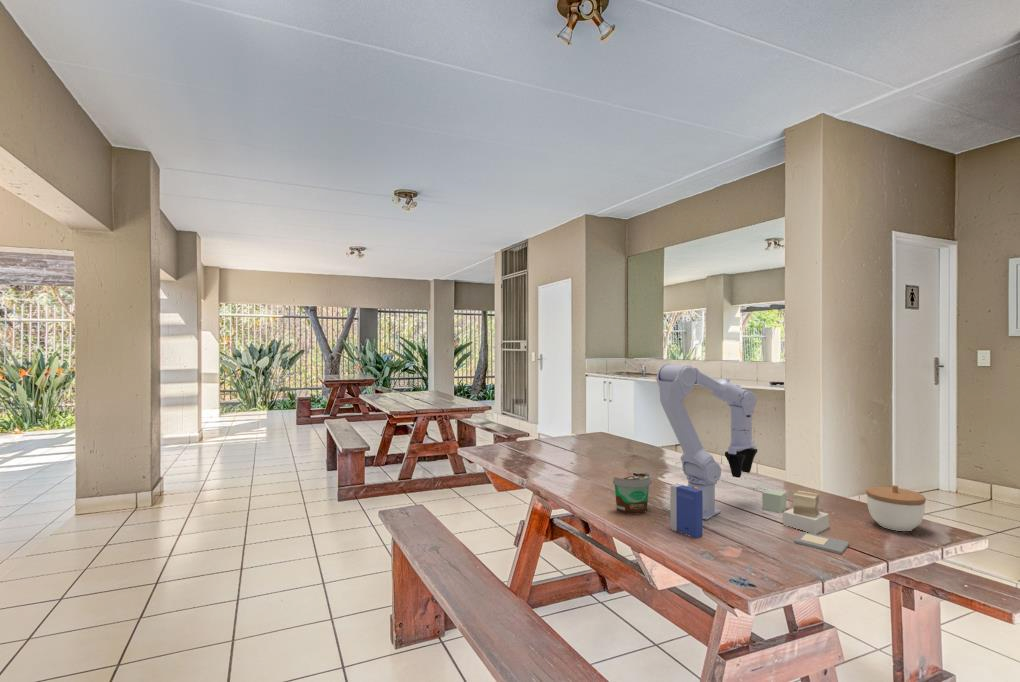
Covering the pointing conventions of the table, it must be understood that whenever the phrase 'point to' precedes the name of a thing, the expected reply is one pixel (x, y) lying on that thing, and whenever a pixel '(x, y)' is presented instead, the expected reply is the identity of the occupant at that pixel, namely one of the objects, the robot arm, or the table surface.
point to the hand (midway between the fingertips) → (741, 474)
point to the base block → (806, 521)
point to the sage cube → (774, 500)
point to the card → (822, 542)
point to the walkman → (686, 510)
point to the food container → (632, 493)
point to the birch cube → (806, 503)
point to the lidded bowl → (895, 507)
